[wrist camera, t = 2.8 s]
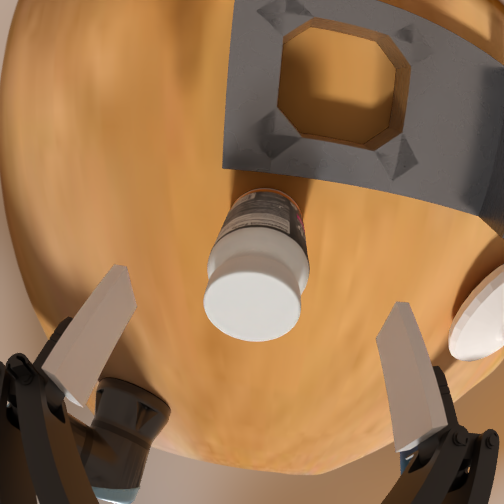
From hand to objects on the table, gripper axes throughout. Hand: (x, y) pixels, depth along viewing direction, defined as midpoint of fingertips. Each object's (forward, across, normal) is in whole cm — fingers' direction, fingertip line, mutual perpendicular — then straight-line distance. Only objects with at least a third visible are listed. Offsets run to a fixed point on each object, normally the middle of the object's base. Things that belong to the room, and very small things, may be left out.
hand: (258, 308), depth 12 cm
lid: (+10, +29, -6) cm, 31 cm away
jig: (+10, +8, +11) cm, 16 cm away
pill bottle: (+10, 0, 0) cm, 10 cm away
